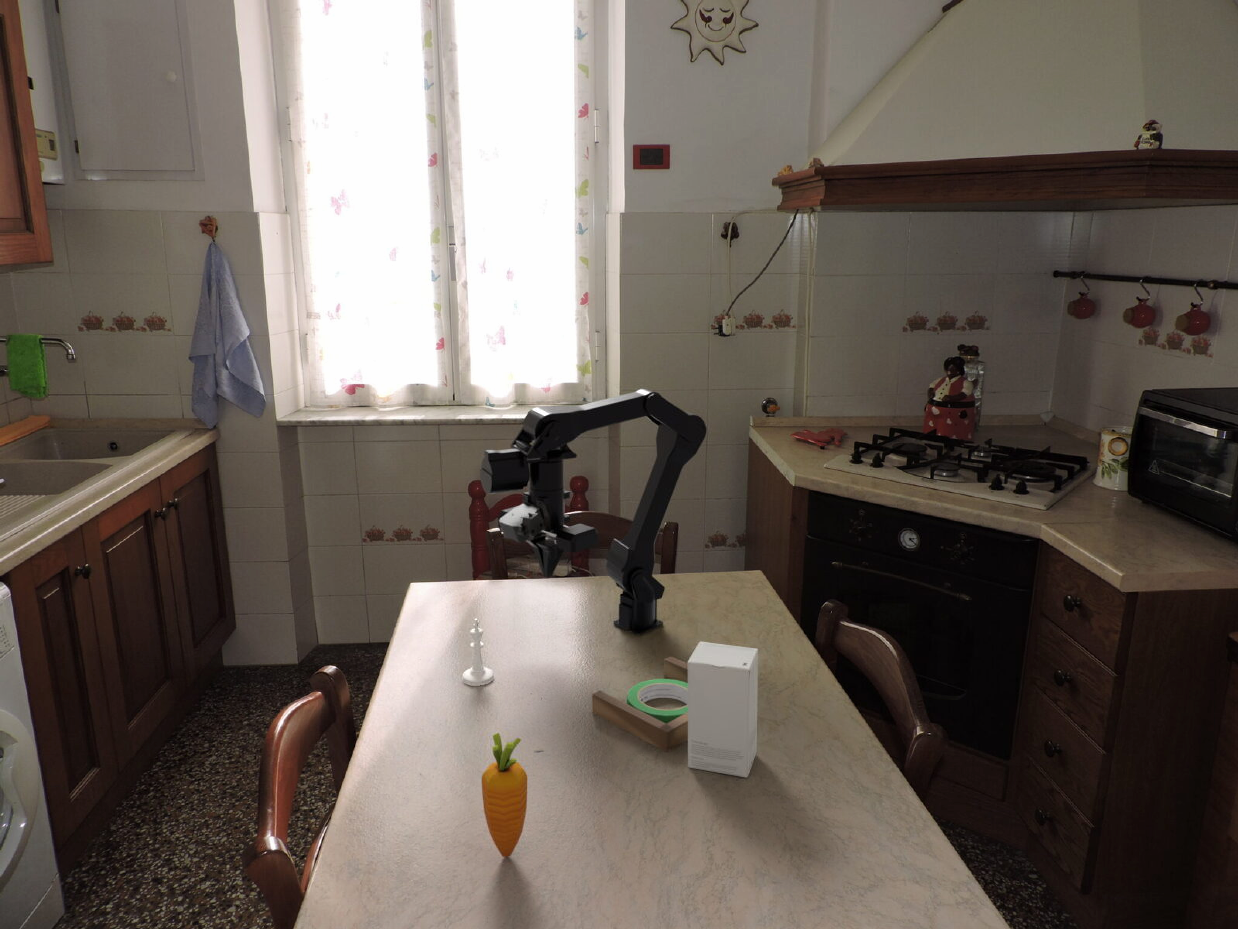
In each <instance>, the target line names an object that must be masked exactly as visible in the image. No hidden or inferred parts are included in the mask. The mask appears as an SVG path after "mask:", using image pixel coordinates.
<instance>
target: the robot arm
mask: <svg viewBox="0 0 1238 929" xmlns="http://www.w3.org/2000/svg"><path fill="white" fill-rule="evenodd" d="M643 417H644V418H645V417H646V418H647V419H648V420H649V421H650V422H652V423H653V424H654V425H656V426H657V427H658V428H657V433H656V437H655V441H656V444H655V445H656V458H655V461H654V463H653V466H652V469H651V472H650V475H649V477H648V479H647V482H646V485H645V488H644V490H643V493H642V496H641V498H640V501H639V504H638V506H637V509H636V512H635V515H634V516H633V518H632V519H633V520H632V522H631V525H630V528H629V530H628V533H627V534H626V535H624V537H623V538H621V539H620V540H618V539H616V538H613V539H612V541H611V544H610V549H609V551H608V553H607V555H606V556H605V557H604V560H605V561H606V564H605V570H606V572H607V575H608V576H609V577H610V578H611V579H612V580H613V581H614V582H615V585H616V587H618V588H620V589H621V590H622V593H620V594H619V603H618V618H617V619H616V620H614V621H613V625H614V626H616V627H618V628H621V629H624V630H625V631H628V632H630V633H633V634H635V635H637V636H641V635H644V634H646V633H648V632H651V631H653V630H655V629H656V628H659V627H661V626H663V625H664V621H662V620H661V619H658V617H657V616H658V600H661V599H662V598H663V595H664V593H665V589H666V587H665V586H664V585H663V584H661V582H660V581H658V580H657V579H656V577H654V576H653V574H654V570H655V564H656V555H655V554H656V552H655V543H656V540H657V536H658V534H659V532H660V529H661V526H662V525H663V521H664V519H665V516H666V514H667V511H668V508H669V505H670V503H671V499H672V497H673V495H674V492H675V491H676V488H677V484H678V482H679V479H680V477H681V473H682V471H683V469H684V466H685V465H686V464H687V463H688V462H690V461H691V459H693V458H694V456H697V454H698V452H699V450H700V448H701V446H702V444H703V443H704V441H705V439H706V436H707V430H708V428H707V426H706V423H705V420H703V417H701V416H699V415H698V414H695V413H692V412H688V411H686V410H683V409H681V408H680V407H679V406H676V405H675V404H673V403H672V402H671V401H668V400H667V399H665V398H664V397H663V396H662V395H661V394H660V393H659V392H656V391H655V390H651V389H647V388H640V389H639V390H638V389H637V390H636V391H633V392H630V393H625V394H620V395H616V396H613V397H609V398H603V399H601V400H596V401H592V402H589V403H584V404H581V405H575V406H573V405H572V406H565V405H563V406H562V405H554V406H553V405H551V406H549V405H548V406H537V407H534V408H532V409H530V410H529V411H528V412H527V413H526V415H525V417H524V419H523V422H522V424H523V426H522V427H521V429H520V430H519V432H518V433H517V435H516V437H515V438H514V439H513V441H512V443H511V444H510V445H509V446H510V448H508V449H498V450H497V449H496V450H495V449H488V450H487V449H486V450H484V452H483V453H484V457H483V459H482V461H481V465H480V466H481V467H480V468H479V475H480V476H479V477H480V482H481V486H482V489H483V492H484V493H485V494H486V495H494V494H501V493H508V492H517V491H522V490H523V489H524V488H525V487H528V491H526V492H523V495H522V496H521V504H520V505H517V506H514V507H513V506H512V507H510V508H509V507H508V508H506V509H502V510H501V512H499V514H498V516H497V522H498V523H497V527H498V528H501V530H502V533H503V536H504V538H505V539H507V540H508V539H510V540H513V541H515V542H516V543H517V544H518V543H519V544H520V543H525V542H526V543H528V545H530V546H531V547H532V549H533V551H534V554H535V556H536V560H537V562H538V565H539V567H540V570H541V573H542V576H543V577H544V578H546V579H548V578H549V579H550V578H552V576H553V574H554V573H555V571H556V568H557V566H558V563H559V562H560V560H561V558H562V556H563V554H564V552H567V553H571V554H572V553H575V554H576V553H578V552H582V551H584V550H588V549H591V548H593V547H597V546H599V542H600V541H599V539H600V538H599V537H600V536H599V535H600V533H599V531H598V530H597V529H596V528H595V527H592V526H589V525H586V524H583V523H577V524H574V525H570V526H568V525H566V524H567V523H570V522H571V516H570V515H568V514H565V500H566V499H567V500H568V499H570V498H571V495H570V494H571V492H570V491H569V490H565V460H570V459H576V458H577V457H578V454H577V453H575V452H574V451H573V450H572V449H571V448H570V446H569V445H568V444H570V443H572V442H574V441H575V440H577V439H578V438H579V437H580V436H581V435H582V434H585V433H588V432H589V431H595V430H598V429H602V428H605V427H608V426H613V425H618V424H620V423H625V422H628V421H633V420H636V419H640V418H643ZM532 442H533V444H531V443H532Z"/></svg>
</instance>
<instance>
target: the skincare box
mask: <svg viewBox="0 0 1238 929" xmlns="http://www.w3.org/2000/svg"><path fill="white" fill-rule="evenodd" d="M687 664H688V740H687V767H688V768H690V769H696V770H701V771H708V772H713V773H718V774H724V775H730V776H735V777H741V778H748V777H749V775H750V771H751V769H752V766H753V763H754V761H755V758H756V754H757V740H758V739H757V738H758V737H757V736H758V690H759V689H758V687H759V686H758V683H759V682H758V680H759V675H758V674H759V648H756V647H755V648H753V647H747V646H739V645H731V644H722V643H715V642H708V641H699V642H698V644H697V645H696V647H695V649H694V650H693V652H692V654H691V655H690V657H689V659H688V661H687Z"/></svg>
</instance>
